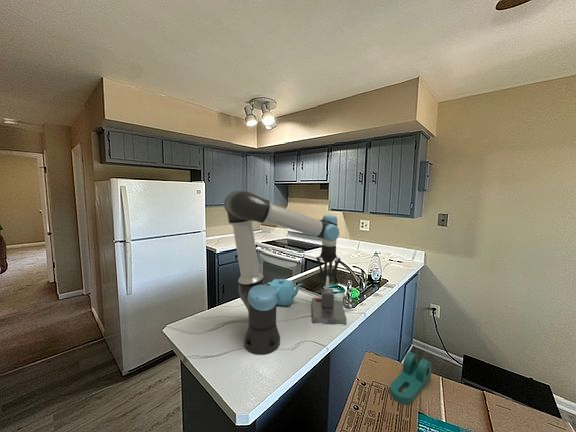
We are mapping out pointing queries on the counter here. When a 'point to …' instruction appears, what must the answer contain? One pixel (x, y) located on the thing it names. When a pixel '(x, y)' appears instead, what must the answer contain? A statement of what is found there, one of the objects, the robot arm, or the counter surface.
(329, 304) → the plug
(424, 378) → the bracket
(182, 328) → the counter surface
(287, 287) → the teapot
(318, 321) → the socket
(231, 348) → the counter surface
